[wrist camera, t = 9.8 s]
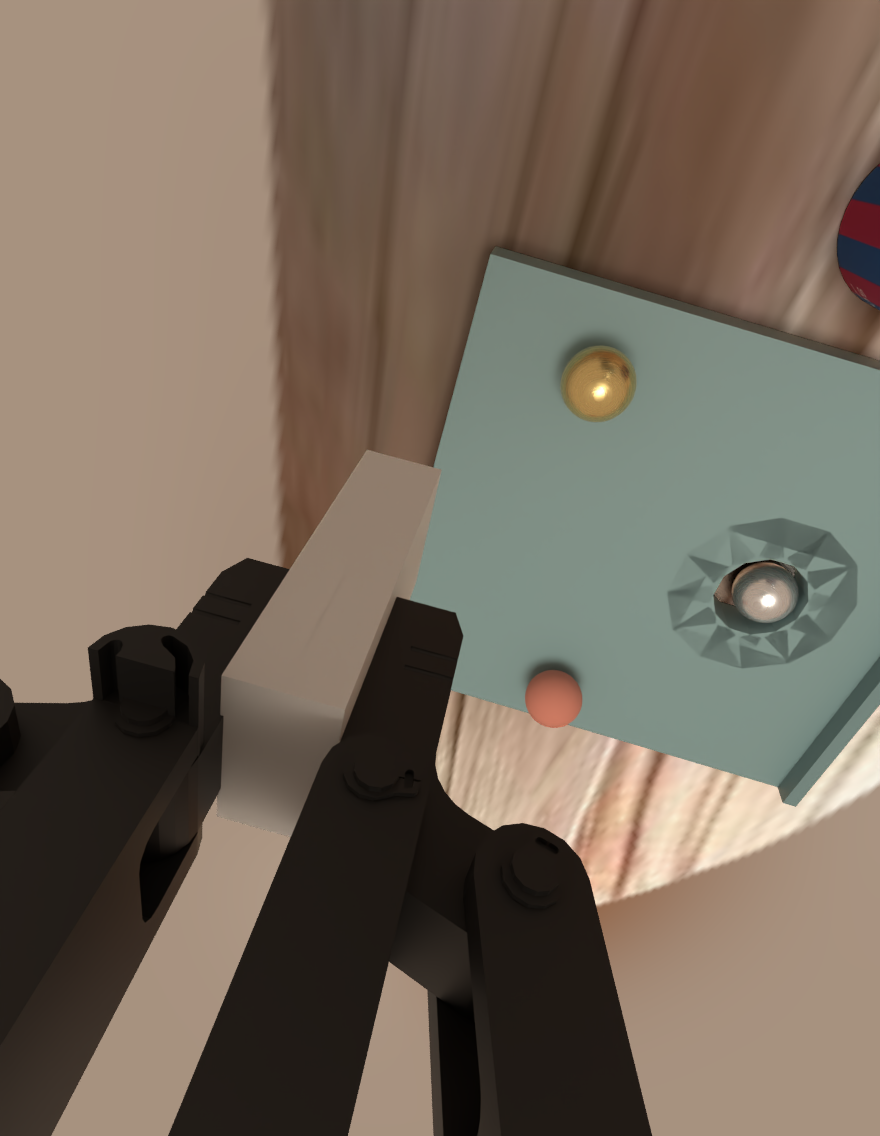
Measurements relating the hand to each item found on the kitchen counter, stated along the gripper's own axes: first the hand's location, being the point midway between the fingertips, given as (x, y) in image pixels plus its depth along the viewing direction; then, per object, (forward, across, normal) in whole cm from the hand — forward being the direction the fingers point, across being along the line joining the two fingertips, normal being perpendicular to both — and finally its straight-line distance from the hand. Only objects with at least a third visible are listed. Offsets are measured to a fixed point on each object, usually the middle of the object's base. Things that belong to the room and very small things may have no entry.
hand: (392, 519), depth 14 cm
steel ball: (+21, +17, -11) cm, 29 cm away
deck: (+22, +12, -11) cm, 27 cm away
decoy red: (+18, +8, -20) cm, 28 cm away
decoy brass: (+18, +5, -2) cm, 19 cm away
